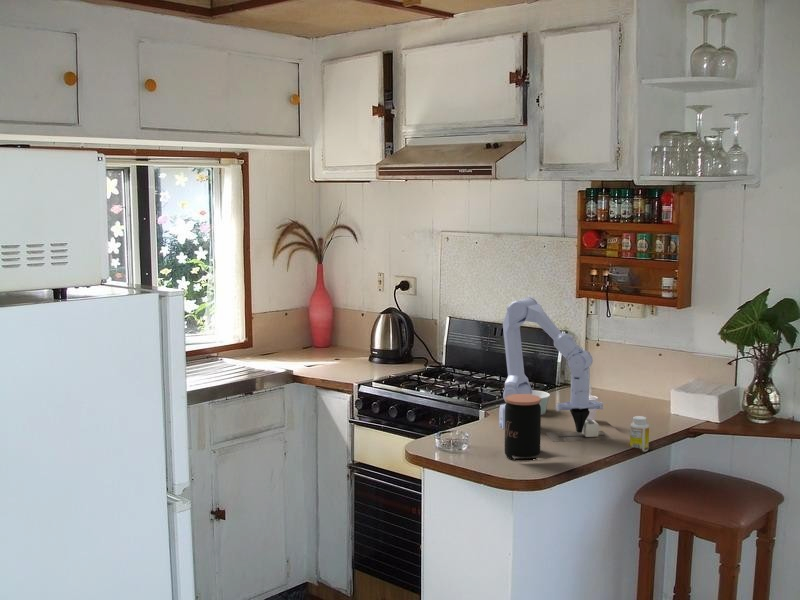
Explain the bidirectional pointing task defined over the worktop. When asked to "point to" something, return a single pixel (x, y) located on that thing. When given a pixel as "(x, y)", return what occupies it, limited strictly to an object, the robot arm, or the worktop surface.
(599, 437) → the fader board
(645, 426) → the supplement bottle
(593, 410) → the smoothie
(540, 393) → the food container
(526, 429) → the coffee jar
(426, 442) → the worktop surface
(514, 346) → the robot arm
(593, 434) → the fader knob
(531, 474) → the worktop surface
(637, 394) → the worktop surface
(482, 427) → the worktop surface
